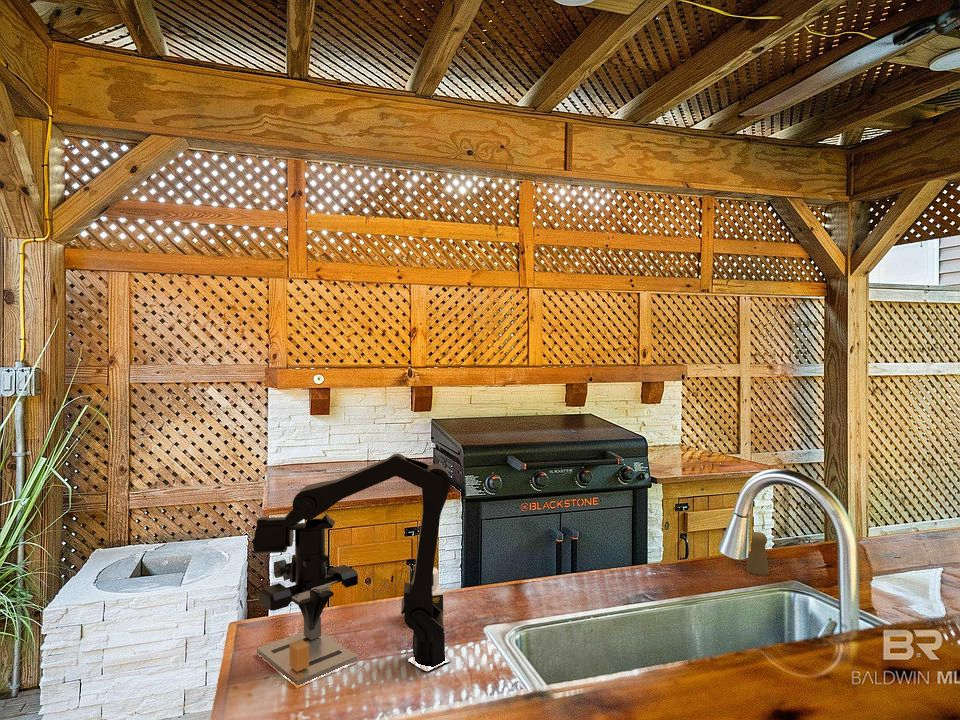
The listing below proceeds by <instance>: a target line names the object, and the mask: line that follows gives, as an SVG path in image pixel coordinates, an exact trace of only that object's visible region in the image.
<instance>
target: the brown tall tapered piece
mask: <svg viewBox="0 0 960 720" xmlns="http://www.w3.org/2000/svg"><path fill="white" fill-rule="evenodd" d="M751 532H752V543H751V552H750V555H749V558H748V557H747V558H748V559H746V569H745V571H746V572H748V573H749V574H752V573H753V574H752V575H756V574H759V575H758V576H767V575H769V574H770V568H769V562H768V557H767V550H766V549H767V548H766V545H767V542H768V537H767V535H766V534H765V533H763V532H759V531H751ZM766 574H767V575H766Z"/></svg>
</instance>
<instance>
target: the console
mask: <svg viewBox="0 0 960 720" xmlns="http://www.w3.org/2000/svg"><path fill="white" fill-rule="evenodd" d="M300 639H302V640H304V641H305V642H306V643H308V644H309V667H308V668H305V669H303V670H300V671H298V672H296V671H295V670H294V669H293V668H291V667H290V643H292V642H295V641H298V640H300ZM257 653H258V654H259V655H261V656H262V657H263V658H264V659H265V660H267V661H268V662H269V663H270V664H271V665H272V666H274V667H275V668H276V669H277V670H278V671H280V672H281V673H282V674H283V675H285V676H286V677H287V678H289V679H290V680H291V681H292V682H294V683H295V684H296V685H300V684H303V683H305V682H307V681H310V680H312V679H314V678H316V677H319V676H321V675H324V674H326V673H329V672H331V671H333V670H335V669H338V668H340V667H342V666H345V665H348V664H350V663H353V662H355V661H357V660H358V655H357V654H355V653H354V652H352V651H351V650H350V649H347V648H346V647H345V646H343V645H342V644H340V643H339V642H337V641H336V640H334V639H333V638H331V637H329V636H328V635H327V634H325V633H323V632H322V631H321V636H320V637H318V638H315V639H312V640H310V639H308V638H307V637H305V636H304V630H303V631H300V632H298V633H295V634H293V635H289V636H287V637H284V638H282V639H278V640H275V641H272V642H270V643H267V644H264V645H261V646H258V647H257V648H256V654H257ZM358 661H359V660H358Z"/></svg>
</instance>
